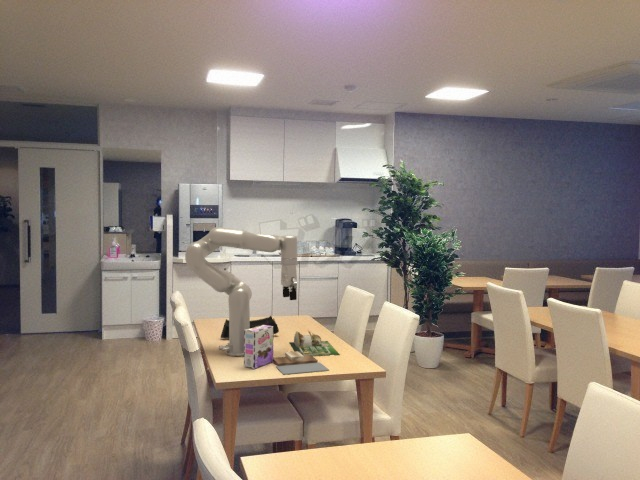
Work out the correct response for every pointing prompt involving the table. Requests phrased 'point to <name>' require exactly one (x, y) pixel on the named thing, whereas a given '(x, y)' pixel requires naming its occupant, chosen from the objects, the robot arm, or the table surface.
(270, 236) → the robot arm
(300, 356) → the birch tile
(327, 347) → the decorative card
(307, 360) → the walnut deck
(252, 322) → the magazine
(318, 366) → the slate mat
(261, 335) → the candy box
